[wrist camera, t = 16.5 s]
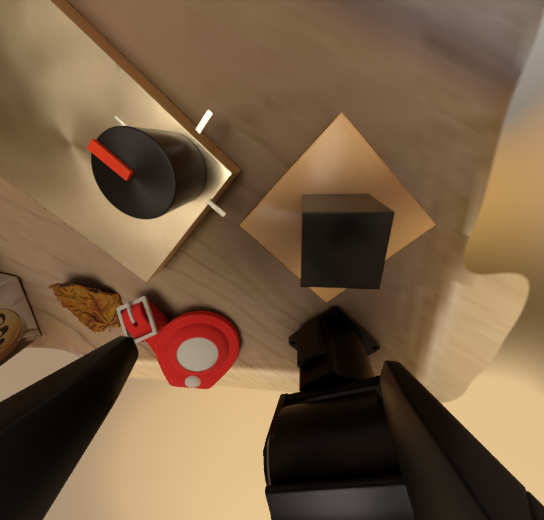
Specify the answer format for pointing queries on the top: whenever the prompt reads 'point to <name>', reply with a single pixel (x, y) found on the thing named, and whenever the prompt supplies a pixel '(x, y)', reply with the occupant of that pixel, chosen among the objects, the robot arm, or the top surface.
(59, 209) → the plate
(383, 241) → the black block
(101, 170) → the hob knob
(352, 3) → the top surface
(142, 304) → the tracker holder
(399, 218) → the cork trivet
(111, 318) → the leaf
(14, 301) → the coffee box
